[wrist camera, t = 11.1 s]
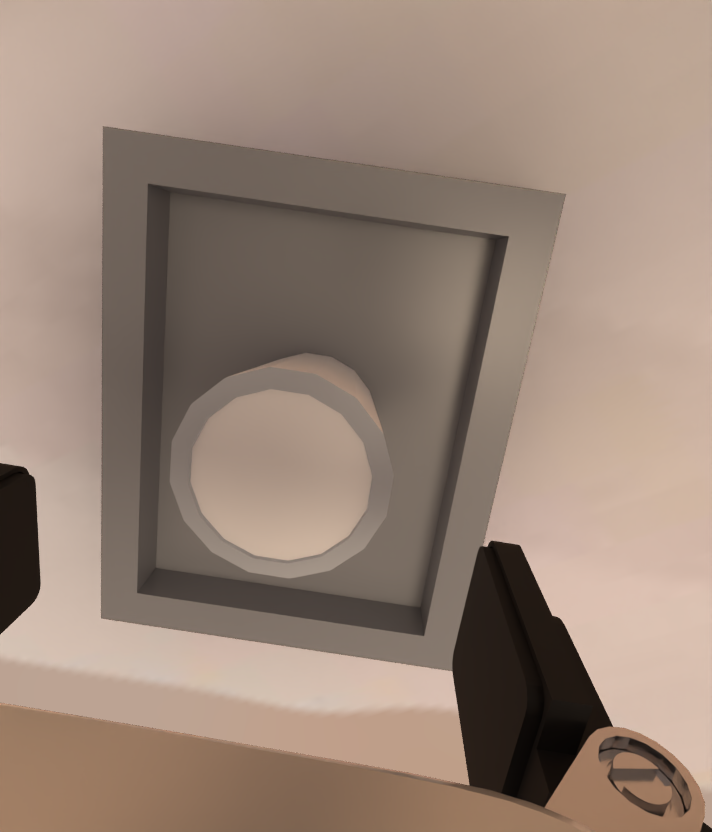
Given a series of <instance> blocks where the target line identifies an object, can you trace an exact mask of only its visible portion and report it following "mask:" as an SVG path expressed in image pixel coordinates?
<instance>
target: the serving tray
mask: <svg viewBox="0 0 712 832" xmlns="http://www.w3.org/2000/svg"><path fill="white" fill-rule="evenodd" d="M565 196H566V194H561V193H554V192H548V191H541V190H534V189H527V188H520V187H513V186H507V185H500V184H493V183H486V182H479V181H472V180H466V179H459V178H452V177H445V176H438V175H431V174H425V173H418V172H411V171H404V170H397V169H390V168H384V167H377V166H370V165H363V164H356V163H350V162H343V161H336V160H329V159H322V158H315V157H309V156H302V155H295V154H288V153H281V152H274V151H268V150H261V149H254V148H247V147H240V146H233V145H227V144H220V143H213V142H206V141H199V140H192V139H186V138H179V137H172V136H165V135H158V134H151V133H145V132H138V131H131V130H124V129H117V128H110V127H104V126H103V251H102V511H101V618H102V619H109V620H115V621H122V622H128V623H135V624H142V625H148V626H155V627H162V628H168V629H175V630H182V631H188V632H195V633H202V634H208V635H215V636H222V637H228V638H235V639H242V640H248V641H255V642H261V643H268V644H275V645H281V646H288V647H295V648H301V649H308V650H315V651H321V652H328V653H335V654H341V655H348V656H355V657H361V658H368V659H375V660H381V661H388V662H395V663H401V664H408V665H414V666H421V667H428V668H434V669H441V670H448V671H452V660H453V652H454V648H455V644H456V640H457V635H458V631H459V627H460V623H461V619H462V615H463V610H464V606H465V602H466V598H467V594H468V590H469V586H470V581H471V577H472V573H473V569H474V565H475V561H476V556H477V553H478V549H479V547H480V546H483V543H484V539H485V535H486V530H487V526H488V522H489V518H490V513H491V509H492V505H493V501H494V496H495V492H496V488H497V484H498V479H499V475H500V471H501V467H502V463H503V458H504V454H505V450H506V446H507V441H508V437H509V433H510V429H511V424H512V420H513V416H514V412H515V407H516V403H517V399H518V395H519V391H520V386H521V382H522V378H523V374H524V369H525V365H526V361H527V357H528V352H529V348H530V344H531V340H532V335H533V331H534V327H535V323H536V319H537V314H538V310H539V306H540V302H541V297H542V293H543V289H544V285H545V280H546V276H547V272H548V268H549V263H550V259H551V255H552V251H553V247H554V242H555V238H556V234H557V230H558V225H559V221H560V217H561V213H562V208H563V204H564V200H565ZM303 353H310V354H317V355H323V356H330V357H333V358H334V359H336V360H338V361H339V362H341V363H343V364H344V365H346V366H348V367H349V368H351V369H353V370H354V371H355V372H356V373H357V375H358V376H359V377H360V379H361V380H362V381H363V383H364V384H365V385H366V387H367V388H368V389H369V391H370V394H371V397H372V400H373V403H374V406H375V409H376V412H377V415H378V418H379V421H380V424H381V427H382V431H383V434H384V438H385V442H386V446H387V450H388V454H389V458H390V462H391V466H392V470H393V474H394V478H393V484H392V489H391V495H390V500H389V506H388V511H387V516H386V518H385V519H384V521H383V522H382V524H381V525H380V526H379V528H378V529H377V531H376V532H375V534H374V535H373V537H372V538H371V540H370V541H369V543H368V544H367V545H366V547H365V548H364V549H363V550H362V551H360V552H359V553H357V554H355V555H354V556H352V557H351V558H349V559H348V560H346V561H344V562H343V563H341V564H340V565H338V566H337V567H335V568H334V569H332V570H330V571H326V572H321V573H316V574H311V575H306V576H301V577H296V578H290V579H289V578H283V577H276V576H270V575H264V574H257V573H251V572H247V571H246V570H244V569H242V568H240V567H238V566H236V565H235V564H233V563H231V562H229V561H227V560H225V559H223V558H222V557H220V556H218V555H216V554H214V553H212V552H211V551H210V550H209V549H208V547H207V546H206V545H205V544H204V543H203V542H202V541H201V540H200V538H199V537H198V536H197V535H196V534H195V533H194V532H193V530H192V529H191V528H190V527H189V526H188V525H187V524H186V523H185V521H184V520H183V517H182V514H181V512H180V509H179V506H178V503H177V501H176V498H175V495H174V493H173V490H172V487H171V484H170V465H171V446H172V440H173V438H174V436H175V434H176V432H177V430H178V428H179V426H180V424H181V422H182V420H183V419H184V417H185V415H186V413H187V411H188V409H189V407H190V405H191V404H192V403H193V402H194V401H196V400H197V399H198V398H200V397H201V396H202V395H203V394H205V393H206V392H207V391H209V390H210V389H211V388H213V387H214V386H215V385H216V384H218V383H219V382H220V381H222V380H223V379H224V378H226V377H229V376H232V375H235V374H238V373H240V372H243V371H246V370H249V369H252V368H255V367H258V366H261V365H264V364H267V363H270V362H273V361H276V360H279V359H282V358H287V357H291V356H295V355H299V354H303Z"/></svg>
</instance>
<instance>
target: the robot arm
mask: <svg viewBox="0 0 712 832" xmlns="http://www.w3.org/2000/svg"><path fill="white" fill-rule="evenodd" d="M39 590H40V565H39V545H38V525H37V505H36V485H35V479H34V477H33V476H31V475H29V473H28V471H27V469H26V468H24V467H21V466H14V465H8V464H2V463H0V634H1V633H2V632H3V631H4V630H5V629H6V628H7V627H8V626H10V625H11V624H12V623H13V622H14V621H15V620H16V619H17V618H18V617H19V616H20V615H21V614H22V613H23V612H24V611H25V610H26V609H27V608H28V607H29V606H30V605H31V604H32V603H33V602H34V601H35V599H36V598H37V596H38V593H39ZM452 671H453V678H454V685H455V691H456V698H457V704H458V711H459V718H460V724H461V731H462V737H463V744H464V751H465V757H466V764H467V770H468V777H469V784H470V786H469V785H464V784H459V783H455V782H450V781H445V780H441V779H436V778H431V777H427V776H422V775H417V774H412V773H408V772H402V771H396V770H390V769H384V768H379V767H373V766H368V765H362V764H357V763H351V762H344V761H339V760H334V759H328V758H322V757H316V756H311V755H305V754H299V753H293V752H287V751H282V750H276V749H271V748H265V747H258V746H253V745H248V744H242V743H236V742H230V741H224V740H218V739H213V738H207V737H201V736H196V735H190V734H184V733H178V732H172V731H167V730H161V729H154V728H149V727H143V726H137V725H130V724H125V723H119V722H113V721H107V720H101V719H94V718H89V717H83V716H77V715H71V714H65V713H59V712H53V711H47V710H41V709H35V708H28V707H23V706H17V705H11V704H5V703H0V832H712V828H710V827H709V826H708V825H706V824H705V823H704V822H703V820H704V817H705V801H704V799H703V796H702V793H701V790H700V788H699V786H698V784H697V783H696V781H695V780H694V778H693V777H692V775H691V774H690V772H689V771H688V769H687V768H686V767H685V766H684V765H683V764H682V763H681V762H680V761H679V760H678V759H677V758H676V757H675V756H674V755H673V754H672V753H670V752H669V751H668V750H666V749H665V748H664V747H662V746H661V745H660V744H658V743H657V742H655V741H653V740H652V739H650V738H648V737H646V736H644V735H642V734H640V733H638V732H635V731H632V730H629V729H626V728H620V727H613V725H612V723H611V721H610V719H609V717H608V715H607V713H606V711H605V709H604V707H603V704H602V702H601V700H600V698H599V696H598V694H597V692H596V690H595V688H594V686H593V684H592V681H591V679H590V677H589V675H588V673H587V671H586V669H585V667H584V665H583V663H582V661H581V658H580V656H579V654H578V652H577V650H576V648H575V646H574V644H573V642H572V640H571V638H570V635H569V633H568V631H567V629H566V627H565V625H564V623H563V622H562V620H561V619H560V618H558V617H555V616H552V614H551V612H550V610H549V608H548V606H547V603H546V601H545V599H544V597H543V595H542V592H541V590H540V588H539V586H538V584H537V581H536V579H535V577H534V575H533V573H532V571H531V568H530V566H529V564H528V562H527V560H526V557H525V555H524V553H523V551H522V549H521V547H520V545H516V544H509V543H503V542H497V541H491V542H490V543H489V545H488V547H483V546H480V547H479V549H478V553H477V556H476V561H475V565H474V569H473V573H472V577H471V581H470V586H469V590H468V594H467V598H466V602H465V606H464V610H463V615H462V619H461V623H460V627H459V631H458V635H457V640H456V644H455V648H454V652H453V660H452Z"/></svg>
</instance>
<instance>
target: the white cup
mask: <svg viewBox="0 0 712 832" xmlns="http://www.w3.org/2000/svg"><path fill="white" fill-rule="evenodd" d="M393 478H394V474H393V470H392V466H391V462H390V458H389V454H388V450H387V446H386V442H385V438H384V434H383V431H382V427H381V424H380V421H379V418H378V415H377V412H376V409H375V406H374V403H373V400H372V397H371V394H370V391H369V389H368V388H367V387H366V385H365V384H364V383H363V381H362V380H361V379H360V377H359V376H358V375H357V373H356V372H355V371H354V370H353V369H351V368H349V367H348V366H346V365H344V364H343V363H341V362H339V361H338V360H336V359H334V358H333V357H330V356H323V355H317V354H310V353H303V354H299V355H295V356H291V357H287V358H282V359H279V360H276V361H273V362H270V363H267V364H264V365H261V366H258V367H255V368H252V369H249V370H246V371H243V372H240V373H238V374H235V375H232V376H229V377H226V378H224V379H223V380H222V381H220V382H219V383H218V384H216V385H215V386H214V387H213V388H211V389H210V390H209V391H207V392H206V393H205V394H203V395H202V396H201V397H200V398H198V399H197V400H196V401H194V402H193V403H192V404H191V405H190V407H189V409H188V411H187V413H186V415H185V417H184V419H183V420H182V422H181V424H180V426H179V428H178V430H177V432H176V434H175V436H174V438H173V440H172V446H171V465H170V484H171V487H172V490H173V493H174V495H175V498H176V501H177V503H178V506H179V509H180V512H181V514H182V517H183V520H184V521H185V523H186V524H187V525H188V526H189V527H190V528H191V529H192V530H193V532H194V533H195V534H196V535H197V536H198V537H199V538H200V540H201V541H202V542H203V543H204V544H205V545H206V546H207V547H208V549H209V550H210V551H211V552H212V553H214V554H216V555H218V556H220V557H222V558H223V559H225V560H227V561H229V562H231V563H233V564H235V565H236V566H238V567H240V568H242V569H244V570H246V571H247V572H251V573H257V574H264V575H270V576H276V577H283V578H289V579H290V578H296V577H301V576H306V575H311V574H316V573H321V572H326V571H330V570H332V569H334V568H335V567H337V566H338V565H340V564H341V563H343V562H344V561H346V560H348V559H349V558H351V557H352V556H354V555H355V554H357V553H359V552H360V551H362V550H363V549H364V548H365V547H366V545H367V544H368V543H369V541H370V540H371V538H372V537H373V535H374V534H375V532H376V531H377V529H378V528H379V526H380V525H381V524H382V522H383V521H384V519H385V518H386V516H387V511H388V506H389V500H390V495H391V489H392V484H393Z"/></svg>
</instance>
